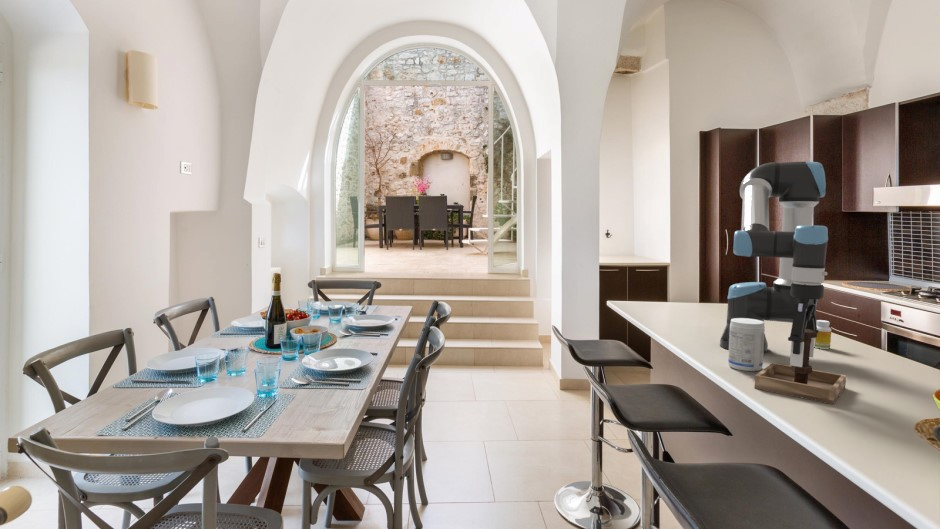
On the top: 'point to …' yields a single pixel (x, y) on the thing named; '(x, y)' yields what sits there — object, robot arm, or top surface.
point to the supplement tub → (746, 344)
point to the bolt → (804, 359)
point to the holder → (817, 388)
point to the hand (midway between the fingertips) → (801, 361)
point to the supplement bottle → (823, 335)
